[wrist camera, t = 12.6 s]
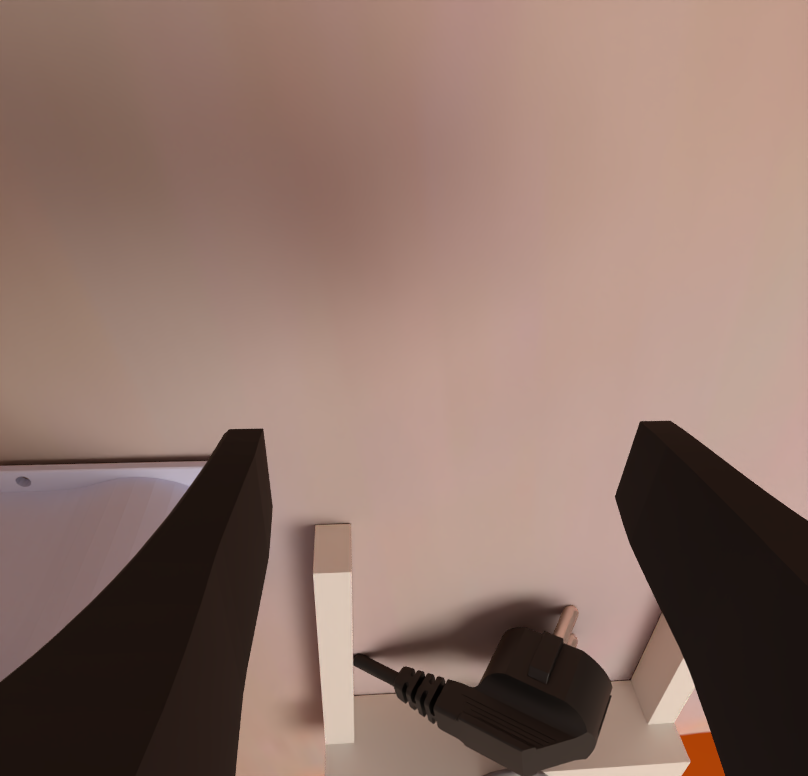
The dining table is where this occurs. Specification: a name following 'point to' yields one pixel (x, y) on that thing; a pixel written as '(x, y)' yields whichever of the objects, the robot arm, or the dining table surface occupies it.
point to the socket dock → (446, 755)
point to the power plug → (516, 699)
